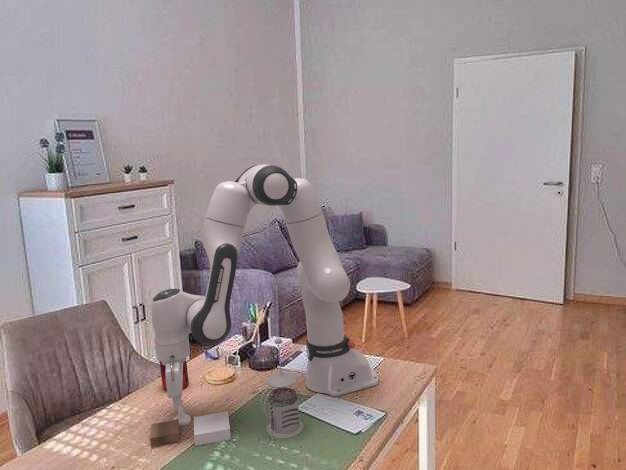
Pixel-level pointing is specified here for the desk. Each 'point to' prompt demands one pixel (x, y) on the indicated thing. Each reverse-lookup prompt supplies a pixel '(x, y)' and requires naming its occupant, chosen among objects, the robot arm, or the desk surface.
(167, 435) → the walnut block
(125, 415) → the desk surface
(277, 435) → the french press
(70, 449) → the desk surface
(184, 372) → the canned food
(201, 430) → the light block
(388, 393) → the desk surface
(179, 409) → the chess piece
